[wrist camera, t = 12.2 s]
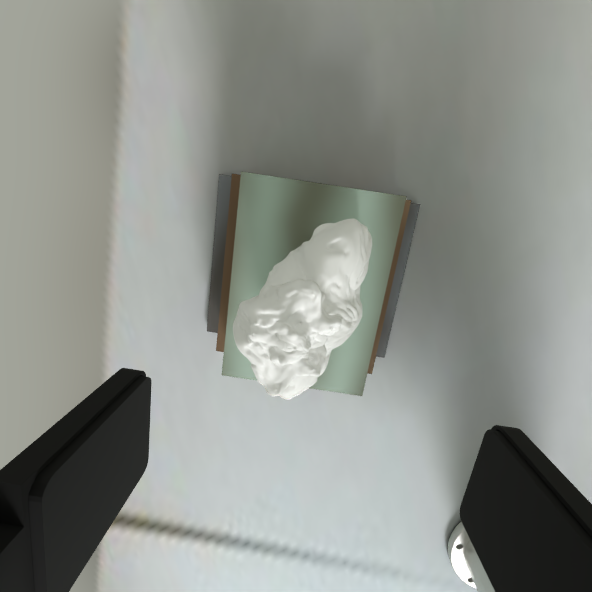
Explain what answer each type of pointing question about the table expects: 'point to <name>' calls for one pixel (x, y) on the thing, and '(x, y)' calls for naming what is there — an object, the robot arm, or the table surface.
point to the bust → (305, 308)
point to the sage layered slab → (290, 235)
